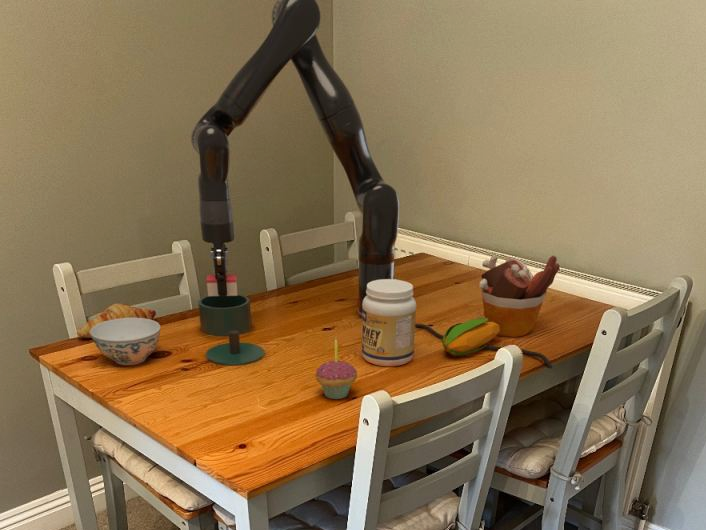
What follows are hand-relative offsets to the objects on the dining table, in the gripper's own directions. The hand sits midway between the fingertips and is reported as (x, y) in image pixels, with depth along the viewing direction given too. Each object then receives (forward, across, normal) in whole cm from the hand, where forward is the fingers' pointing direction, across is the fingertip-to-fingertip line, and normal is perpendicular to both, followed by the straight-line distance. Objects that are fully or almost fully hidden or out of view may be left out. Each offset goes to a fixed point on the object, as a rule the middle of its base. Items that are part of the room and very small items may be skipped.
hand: (222, 292), depth 183 cm
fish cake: (0, 0, 0) cm, 0 cm away
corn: (+10, -20, -58) cm, 63 cm away
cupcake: (+10, -43, -23) cm, 50 cm away
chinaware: (+10, -19, +21) cm, 30 cm away
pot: (+10, 0, 0) cm, 10 cm away
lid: (+9, -19, -2) cm, 21 cm away
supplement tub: (+10, -23, -38) cm, 45 cm away
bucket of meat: (+10, -8, -72) cm, 73 cm away
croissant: (+10, +2, +27) cm, 29 cm away
